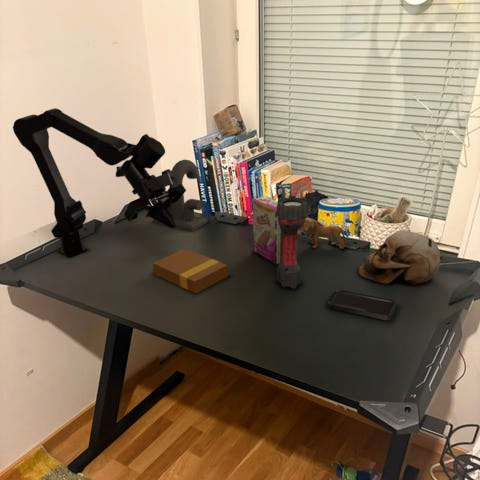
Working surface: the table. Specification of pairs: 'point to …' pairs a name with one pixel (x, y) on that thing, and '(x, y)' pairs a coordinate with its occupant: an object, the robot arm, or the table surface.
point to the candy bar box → (266, 228)
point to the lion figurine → (322, 232)
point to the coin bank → (403, 259)
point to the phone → (362, 304)
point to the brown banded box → (190, 270)
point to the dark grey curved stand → (182, 210)
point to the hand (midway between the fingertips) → (174, 227)
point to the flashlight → (290, 238)
